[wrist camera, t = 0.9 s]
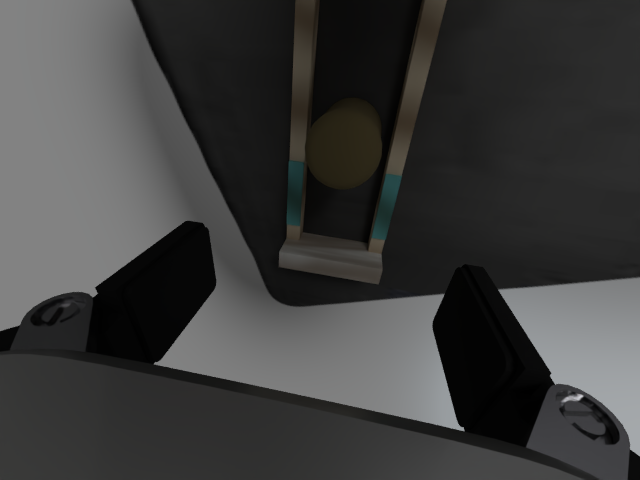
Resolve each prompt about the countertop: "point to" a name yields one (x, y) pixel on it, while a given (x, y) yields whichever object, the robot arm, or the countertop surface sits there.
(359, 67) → the countertop surface
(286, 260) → the guide channel
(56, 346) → the robot arm
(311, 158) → the dark brown rounded piece
